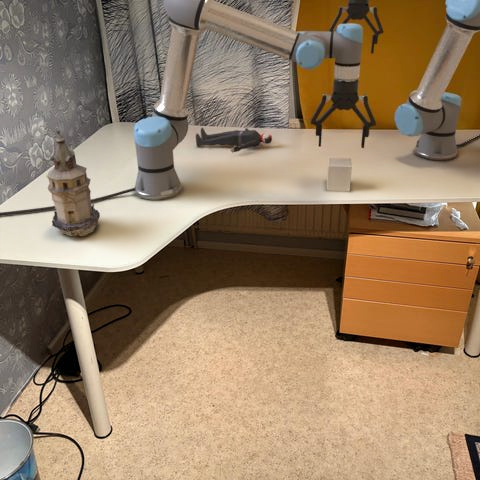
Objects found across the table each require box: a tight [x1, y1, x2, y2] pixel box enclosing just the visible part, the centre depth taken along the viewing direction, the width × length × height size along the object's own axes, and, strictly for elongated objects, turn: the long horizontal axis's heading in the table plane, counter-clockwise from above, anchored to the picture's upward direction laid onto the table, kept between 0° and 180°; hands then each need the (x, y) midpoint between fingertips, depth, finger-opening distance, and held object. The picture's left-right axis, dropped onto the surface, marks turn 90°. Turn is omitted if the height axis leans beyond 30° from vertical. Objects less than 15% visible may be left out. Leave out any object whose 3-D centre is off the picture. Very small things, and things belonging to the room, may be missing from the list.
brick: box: [326, 157, 353, 192], centre depth 178 cm, size 7×8×9 cm
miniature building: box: [46, 129, 101, 237], centre depth 148 cm, size 13×14×30 cm
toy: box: [195, 127, 273, 154], centre depth 215 cm, size 26×6×30 cm
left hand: (341, 146), depth 173 cm, fingers open, 13 cm apart
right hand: (354, 52), depth 207 cm, fingers open, 13 cm apart
